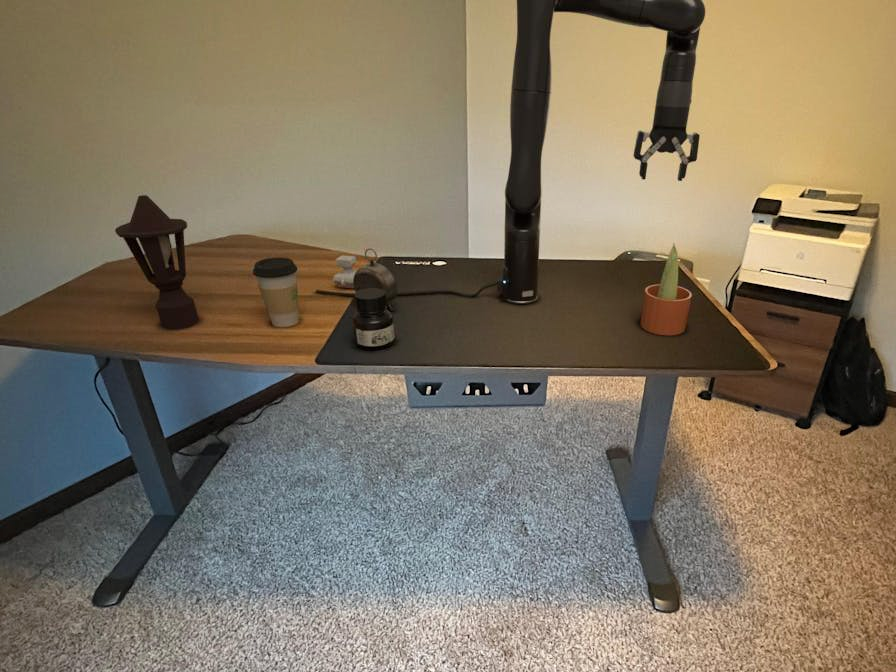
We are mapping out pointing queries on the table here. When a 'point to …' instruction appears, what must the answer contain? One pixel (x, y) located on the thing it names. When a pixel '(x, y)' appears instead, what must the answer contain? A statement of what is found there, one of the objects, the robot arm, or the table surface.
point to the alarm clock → (375, 279)
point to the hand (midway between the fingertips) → (661, 179)
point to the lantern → (161, 260)
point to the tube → (669, 277)
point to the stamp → (345, 271)
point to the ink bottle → (372, 320)
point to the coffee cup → (278, 289)
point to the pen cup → (665, 312)
